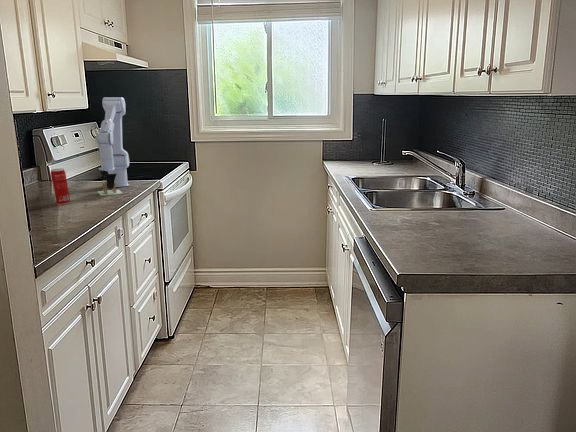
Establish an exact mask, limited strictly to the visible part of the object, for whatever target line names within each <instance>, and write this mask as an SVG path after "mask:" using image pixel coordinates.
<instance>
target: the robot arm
mask: <svg viewBox="0 0 576 432" xmlns="http://www.w3.org/2000/svg"><path fill="white" fill-rule="evenodd" d="M101 103H102V108H103V110H104V112H105V114H104V119H103V120H102V121H101V123H100V129H99V133H97V134H96V144H97V147H98V151H99V159H100V166H101V167H98V171H99V173H100V174H101V175H102V178H103V180H106V181H107V189H108V190H110V189H111V190H112V188H114V181H115V183H116V188H121V187H122V188H123V187H130V186H131V184H129V183H128V173H127V172H128V171H127V168H129V166H130V155H129V153H128V151H127V150H125V149H124V148H123V147H124V146H123V116H125V115H126V101H125V98H124V97H122V96H121V97H117V96H116V97H114V96H113V97H106V96H105V97H103V98H102V101H101Z"/></svg>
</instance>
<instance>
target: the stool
mask: <svg viewBox="0 0 576 432" xmlns="http://www.w3.org/2000/svg"><path fill="white" fill-rule="evenodd" d="M102 188H103V189H102V191H104V192H105V194H108V193H107V191H108V186H107V181H106V180H104V179H103V180H102ZM111 190H112V191H114V193H116V190H117V187H116V183H115V181H114V188H111Z"/></svg>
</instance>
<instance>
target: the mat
mask: <svg viewBox="0 0 576 432" xmlns="http://www.w3.org/2000/svg"><path fill="white" fill-rule="evenodd" d="M107 193H108V194H105V192H104V191H103V190H101V191H98V190H97V194H99V196H100V197H106V196H116V195H117V196H119V195H123V194H124V193H123V192H122V190H120V189H116V193H114V191H112V189H111V190H110V189H108V190H107Z"/></svg>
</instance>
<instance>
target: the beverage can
mask: <svg viewBox="0 0 576 432" xmlns="http://www.w3.org/2000/svg"><path fill="white" fill-rule="evenodd" d="M50 178H51V184H52V188H53V194H54V200H55V204H56V205H59V206H60V205H61V206H63V205H68V204H70V203H71V199H70V198H71V197H70V192H69V187H68V182H67V174H66V170H65V169H64V168H53V169H51V170H50Z"/></svg>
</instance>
